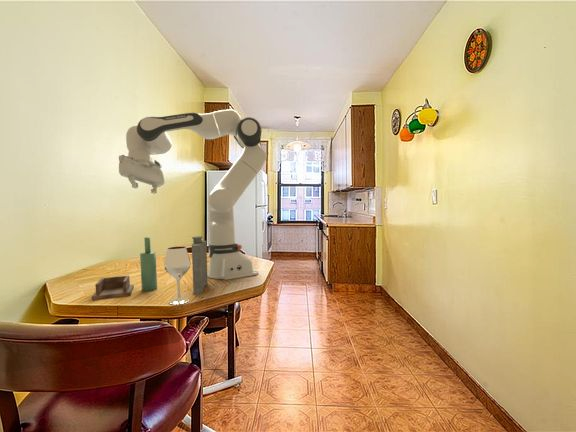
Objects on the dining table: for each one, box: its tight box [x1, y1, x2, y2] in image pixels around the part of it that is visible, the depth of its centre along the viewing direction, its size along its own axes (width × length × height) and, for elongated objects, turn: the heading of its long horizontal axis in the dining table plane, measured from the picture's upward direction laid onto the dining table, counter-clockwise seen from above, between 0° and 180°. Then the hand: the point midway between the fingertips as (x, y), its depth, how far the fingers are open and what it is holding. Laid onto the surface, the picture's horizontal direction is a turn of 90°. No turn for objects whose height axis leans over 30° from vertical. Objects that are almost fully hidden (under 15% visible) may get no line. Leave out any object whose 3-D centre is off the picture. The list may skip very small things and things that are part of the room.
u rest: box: [91, 274, 135, 301], centre depth 115 cm, size 12×12×5 cm
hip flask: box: [191, 235, 209, 295], centre depth 118 cm, size 16×4×20 cm, turn 6°
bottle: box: [139, 236, 158, 292], centre depth 119 cm, size 6×6×20 cm
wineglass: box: [163, 246, 192, 306], centre depth 102 cm, size 8×8×18 cm
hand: (145, 190), depth 128 cm, fingers open, 8 cm apart
